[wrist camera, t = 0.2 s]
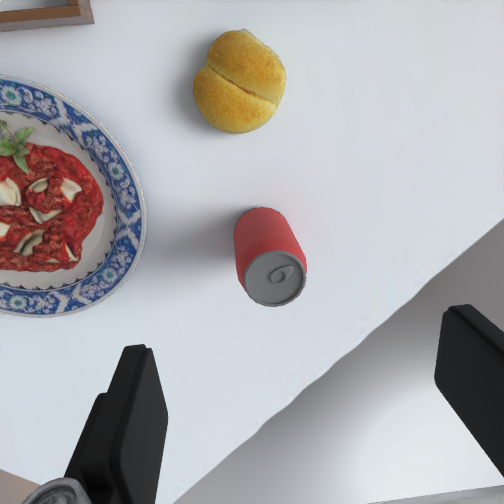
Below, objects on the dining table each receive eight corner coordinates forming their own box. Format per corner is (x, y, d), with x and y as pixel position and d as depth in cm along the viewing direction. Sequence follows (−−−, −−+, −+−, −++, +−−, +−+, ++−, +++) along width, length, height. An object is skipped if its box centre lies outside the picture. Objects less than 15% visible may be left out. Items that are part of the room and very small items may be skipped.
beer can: (299, 237, 43) (326, 285, 32) (255, 268, 45) (266, 324, 34) (268, 194, 41) (285, 230, 30) (221, 228, 42) (222, 274, 31)
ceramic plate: (123, 329, 47) (117, 343, 44) (-105, 276, 42) (-128, 288, 39) (175, 129, 38) (172, 132, 35) (-108, 29, 32) (-138, 23, 30)
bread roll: (181, 105, 37) (177, 106, 33) (226, 17, 34) (227, 8, 30) (250, 149, 39) (253, 155, 35) (298, 70, 36) (306, 67, 33)
